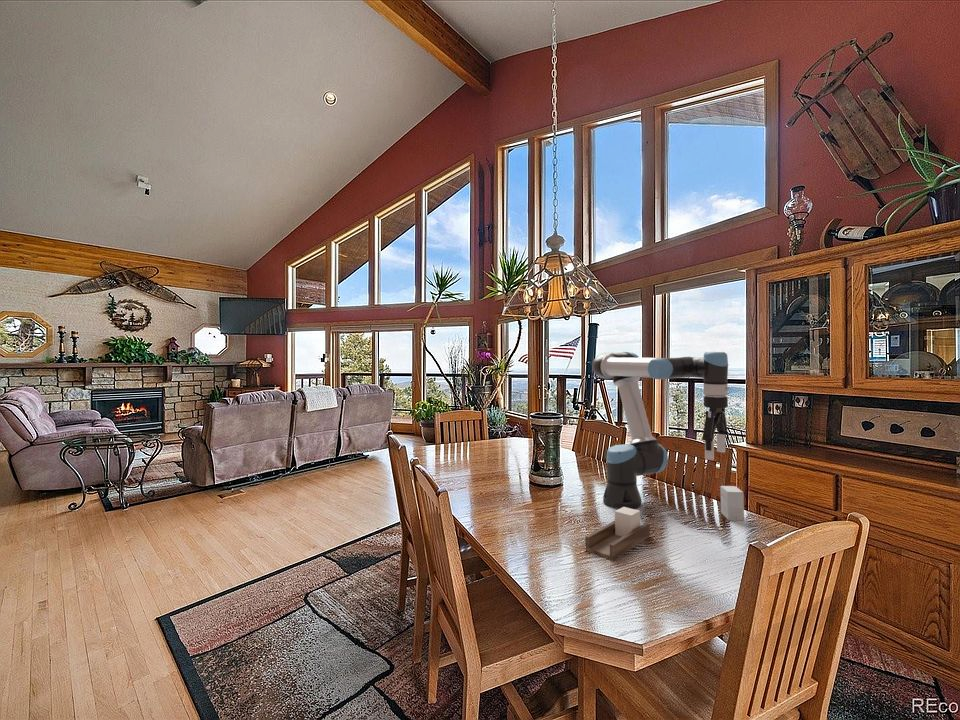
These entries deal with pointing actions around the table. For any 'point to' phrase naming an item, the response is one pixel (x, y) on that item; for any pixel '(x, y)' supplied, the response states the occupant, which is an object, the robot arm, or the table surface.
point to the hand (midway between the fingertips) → (715, 455)
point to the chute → (615, 540)
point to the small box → (732, 502)
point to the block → (626, 520)
